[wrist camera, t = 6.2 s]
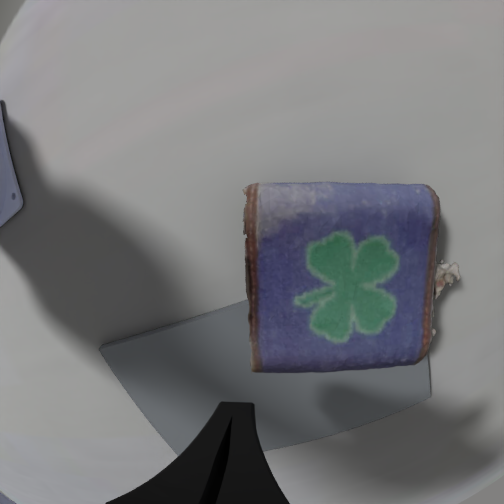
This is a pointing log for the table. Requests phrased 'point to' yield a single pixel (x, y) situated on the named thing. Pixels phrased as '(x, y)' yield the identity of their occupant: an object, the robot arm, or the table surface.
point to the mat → (249, 384)
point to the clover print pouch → (341, 275)
